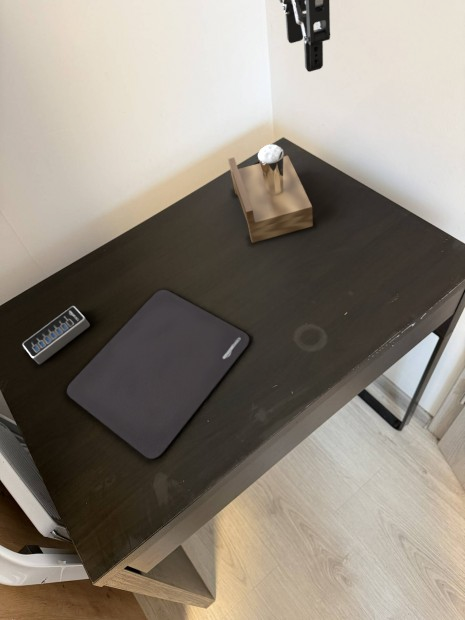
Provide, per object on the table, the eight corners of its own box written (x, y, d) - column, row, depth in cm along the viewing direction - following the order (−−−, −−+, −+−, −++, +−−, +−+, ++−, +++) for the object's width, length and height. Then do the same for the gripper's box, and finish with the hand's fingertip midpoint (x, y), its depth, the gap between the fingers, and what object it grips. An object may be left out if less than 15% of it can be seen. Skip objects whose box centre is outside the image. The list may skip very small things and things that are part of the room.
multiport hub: (27, 350, 84) (21, 343, 82) (78, 312, 87) (73, 304, 86) (39, 365, 82) (32, 358, 80) (90, 325, 85) (85, 318, 83)
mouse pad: (154, 464, 68) (154, 463, 68) (62, 391, 78) (62, 391, 78) (253, 337, 78) (253, 337, 78) (161, 287, 87) (161, 286, 87)
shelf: (289, 175, 100) (286, 142, 93) (313, 226, 90) (311, 194, 84) (234, 190, 100) (228, 158, 93) (252, 243, 90) (246, 212, 84)
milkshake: (276, 202, 88) (271, 158, 80) (258, 190, 91) (251, 146, 83) (294, 190, 89) (291, 145, 81) (275, 178, 92) (270, 133, 84)
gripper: (354, -86, 48) (349, 72, 61) (311, -120, 56) (314, 25, 69) (282, -66, 48) (292, 87, 61) (250, -103, 56) (265, 39, 69)
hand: (304, 54), depth 65 cm, fingers open, 8 cm apart
